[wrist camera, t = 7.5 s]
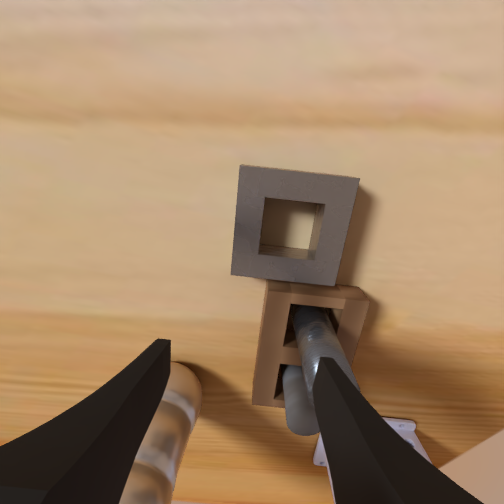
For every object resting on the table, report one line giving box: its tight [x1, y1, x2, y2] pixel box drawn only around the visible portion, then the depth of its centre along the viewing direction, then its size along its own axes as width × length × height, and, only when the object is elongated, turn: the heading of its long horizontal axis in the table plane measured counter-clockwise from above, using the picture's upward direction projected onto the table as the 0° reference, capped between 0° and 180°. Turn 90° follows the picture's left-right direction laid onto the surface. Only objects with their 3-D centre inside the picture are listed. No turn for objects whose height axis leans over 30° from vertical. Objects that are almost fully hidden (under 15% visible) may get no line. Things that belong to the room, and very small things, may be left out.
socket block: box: [231, 165, 360, 286], centre depth 20 cm, size 8×8×2 cm
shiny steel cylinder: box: [291, 304, 360, 408], centre depth 19 cm, size 3×3×9 cm
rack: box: [252, 279, 370, 436], centre depth 22 cm, size 8×12×6 cm, turn 174°
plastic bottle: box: [119, 362, 202, 504], centre depth 17 cm, size 6×7×20 cm
